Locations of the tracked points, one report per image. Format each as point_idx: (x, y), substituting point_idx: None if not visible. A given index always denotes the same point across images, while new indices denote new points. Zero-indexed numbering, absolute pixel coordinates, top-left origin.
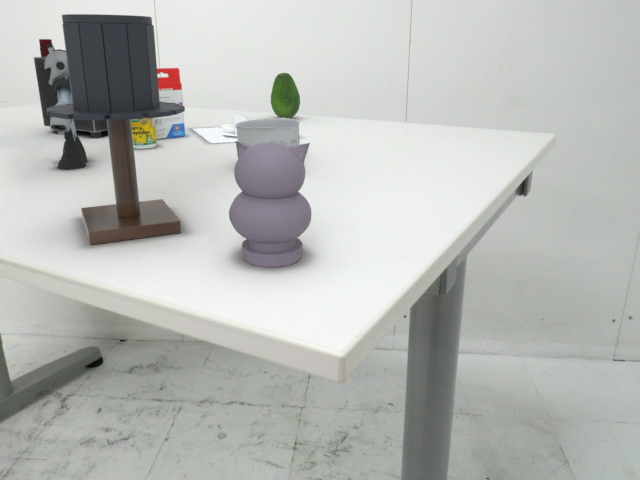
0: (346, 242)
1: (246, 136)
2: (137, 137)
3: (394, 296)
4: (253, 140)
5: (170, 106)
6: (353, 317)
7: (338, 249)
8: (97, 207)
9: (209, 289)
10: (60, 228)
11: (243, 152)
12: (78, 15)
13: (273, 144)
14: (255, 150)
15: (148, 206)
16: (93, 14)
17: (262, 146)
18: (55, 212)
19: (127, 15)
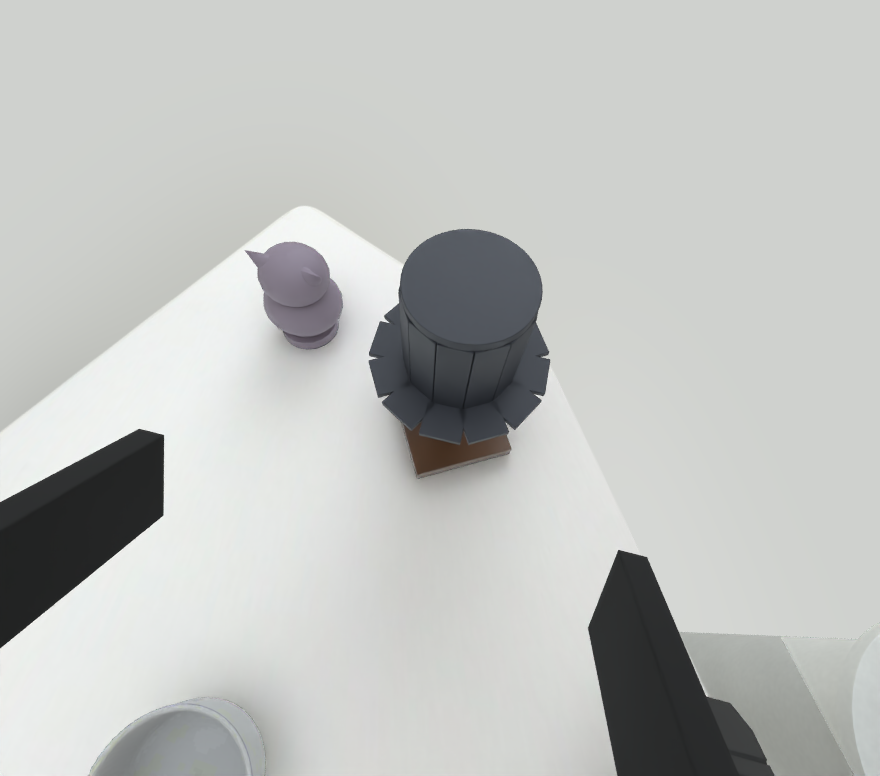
0: (231, 346)
1: (242, 730)
2: None
3: (241, 249)
4: (232, 713)
5: (388, 359)
6: (281, 230)
7: (246, 331)
8: (492, 447)
9: (370, 276)
10: (524, 425)
11: (315, 268)
12: (501, 237)
13: (284, 250)
14: (304, 249)
15: (431, 443)
16: (478, 230)
17: (296, 249)
18: (551, 487)
19: (431, 237)
